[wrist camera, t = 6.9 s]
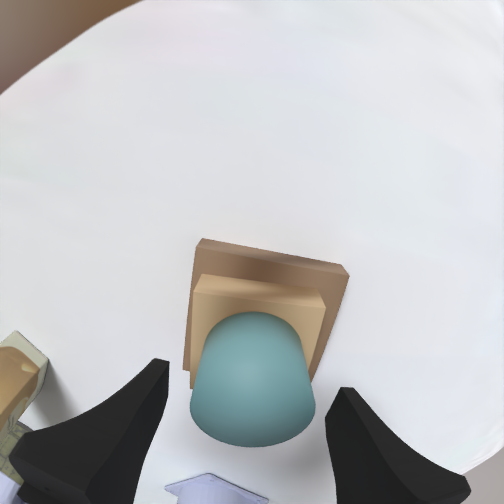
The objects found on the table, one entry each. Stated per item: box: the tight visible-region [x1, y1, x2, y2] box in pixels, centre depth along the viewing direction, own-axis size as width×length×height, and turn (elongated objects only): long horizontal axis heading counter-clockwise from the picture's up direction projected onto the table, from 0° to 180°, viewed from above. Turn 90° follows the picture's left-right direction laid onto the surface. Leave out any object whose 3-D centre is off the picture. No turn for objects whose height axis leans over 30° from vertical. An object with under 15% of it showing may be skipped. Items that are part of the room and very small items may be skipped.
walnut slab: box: [183, 238, 349, 382], centre depth 17 cm, size 8×8×2 cm
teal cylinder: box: [190, 311, 315, 447], centre depth 12 cm, size 5×5×4 cm
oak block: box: [190, 274, 326, 389], centre depth 15 cm, size 6×6×2 cm
